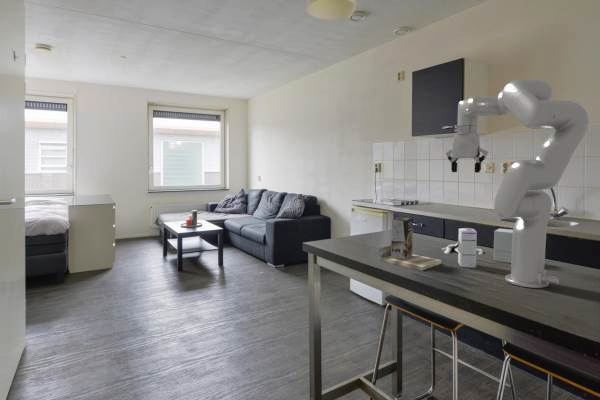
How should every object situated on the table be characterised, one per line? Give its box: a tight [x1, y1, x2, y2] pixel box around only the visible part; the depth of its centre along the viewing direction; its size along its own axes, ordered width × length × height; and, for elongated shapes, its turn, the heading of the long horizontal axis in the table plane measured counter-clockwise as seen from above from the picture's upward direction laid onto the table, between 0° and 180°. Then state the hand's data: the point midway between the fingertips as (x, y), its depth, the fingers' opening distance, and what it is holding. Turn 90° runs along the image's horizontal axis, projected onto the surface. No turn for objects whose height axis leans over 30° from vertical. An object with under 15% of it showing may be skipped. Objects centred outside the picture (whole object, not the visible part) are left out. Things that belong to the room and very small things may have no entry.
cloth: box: [441, 241, 484, 255], centre depth 169 cm, size 22×19×6 cm
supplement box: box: [493, 228, 513, 264], centre depth 153 cm, size 7×7×13 cm
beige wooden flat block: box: [378, 244, 442, 271], centre depth 152 cm, size 21×14×6 cm
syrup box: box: [457, 227, 478, 269], centre depth 146 cm, size 6×6×14 cm
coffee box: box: [390, 216, 414, 260], centre depth 154 cm, size 9×6×16 cm
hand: (465, 172), depth 155 cm, fingers open, 9 cm apart
